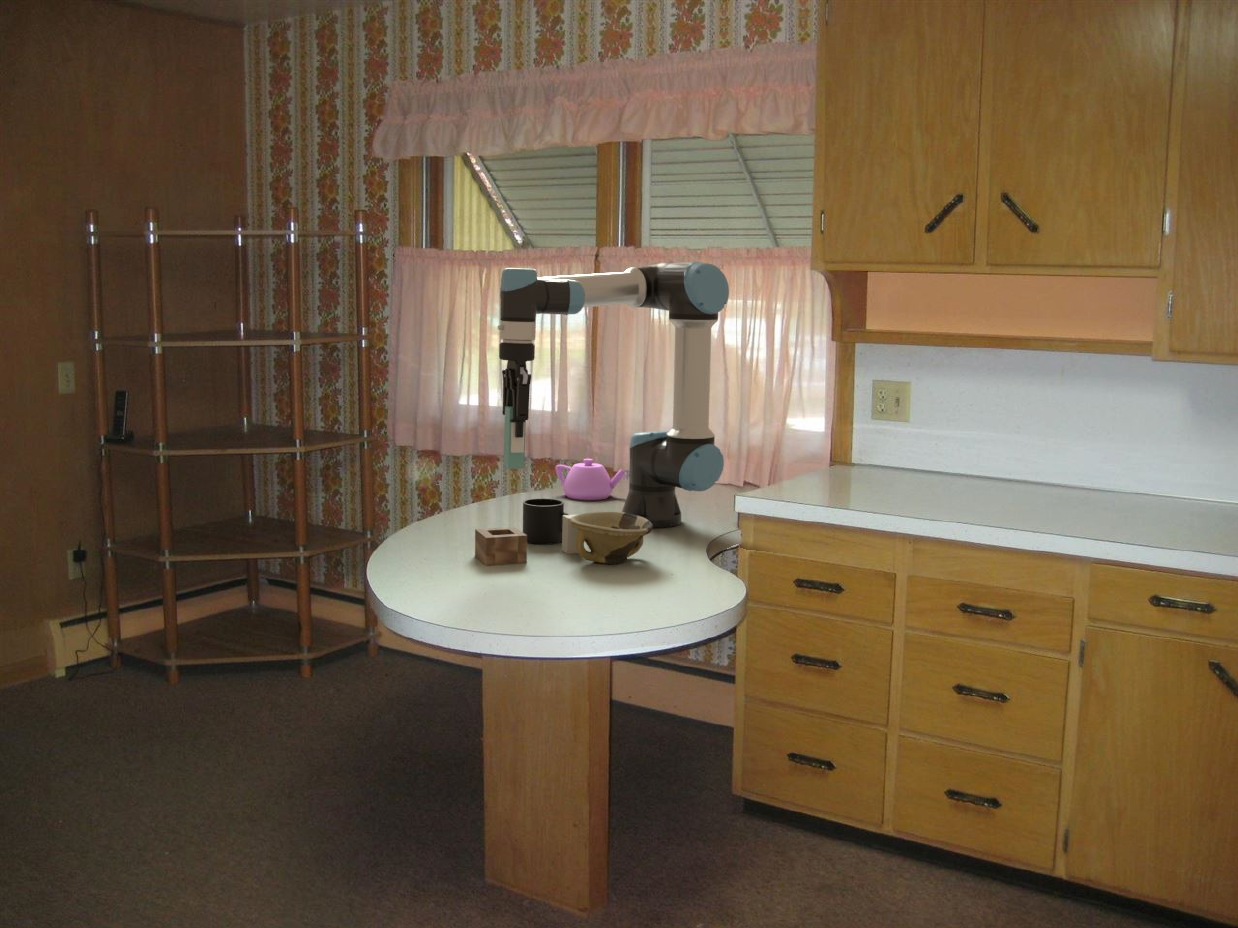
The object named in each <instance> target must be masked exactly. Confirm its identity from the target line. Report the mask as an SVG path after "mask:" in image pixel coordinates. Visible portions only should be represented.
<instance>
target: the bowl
mask: <svg viewBox="0 0 1238 928" xmlns="http://www.w3.org/2000/svg"><path fill="white" fill-rule="evenodd" d="M575 515H576V516H573V517H572V518H571V519H570V521H571V525H572V527H574V528H577V530H578V531H579V532H578V536H577V539H576V549H577V552H578V553H577V554H578V555H579V556H580V557H581V558H583V559H585V560H586V561H590V562H595V563H599V564H605V565H619V564H622V563H624V562H625V561H627V559H628V558H630V557H631V556H633V555H635V554H636V553H638V552H639V551H640V549H641V548H642V547H643V546H644V545H643V544H644V536H646V535H648V534H650V533H651V532H652V529H653V524H652V523H651V522H650V521H649V520H647V519H645V518H643V517H640V516H637V515H633V514H629V513H624V512H622V511H595V512H591V511H590V512H584V513H583V512H582V513H579V514H575ZM585 544H586V545H587V547H588V549H589V550H590V551H588V550H587V549H586V548H585Z"/></svg>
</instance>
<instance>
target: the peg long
mask: <svg viewBox="0 0 1238 928" xmlns="http://www.w3.org/2000/svg"><path fill="white" fill-rule="evenodd" d="M510 419H513V406H505V415H504V427H503V428H504V429H503V430H504V432H503V433H504V434H503V435H504V437H503V468H506V469H508V470H512V469H513V470H514V469H515V470H517V469H520V470H521V469H525V463H526V461H525V460H526V456H525V455H526V423H527V422H526V421H527V420H526V421H525V429H524V452H523V453H511V422H510Z"/></svg>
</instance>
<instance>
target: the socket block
mask: <svg viewBox="0 0 1238 928" xmlns="http://www.w3.org/2000/svg"><path fill="white" fill-rule="evenodd" d="M474 532H475V533H474V556H475V558H477V559H478V560H479V561H480V562H481V563H482V564H484V565H485V566H498V565H501V566H502V565H513V564H527V563H528V543H527V535H526V534H524V533H523V530H522V531H521V530H520V529H518V528H517V527H516V526H507V527H504V526H503V527H491V528H488V527H486V528H475V529H474Z"/></svg>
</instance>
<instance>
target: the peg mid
mask: <svg viewBox="0 0 1238 928" xmlns="http://www.w3.org/2000/svg"><path fill="white" fill-rule="evenodd" d="M576 515H577V514H569V515H563V524H562V541H561V542H562V543H561V550H562V552H564V553H565V554H567V555H571V554H579V553H578V552H577V549H576V539H577V536H578V532H579V531H578V530H577V528H574V527H572V525H571V521H570V519H571V518H572V517H573V516H576Z"/></svg>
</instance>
